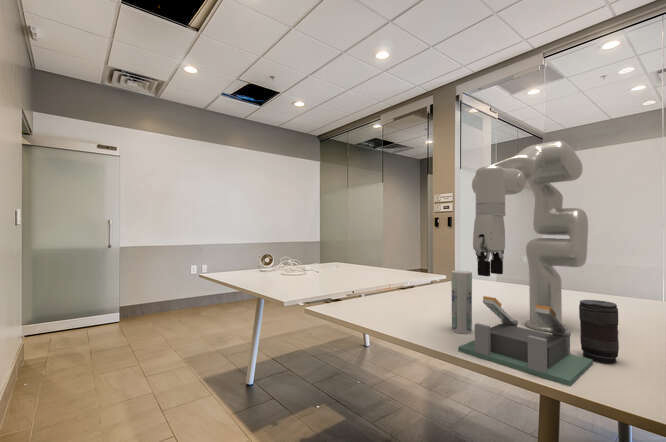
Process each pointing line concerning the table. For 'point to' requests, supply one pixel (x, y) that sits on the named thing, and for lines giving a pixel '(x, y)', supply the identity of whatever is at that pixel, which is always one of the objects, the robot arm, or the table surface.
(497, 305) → the strap
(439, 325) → the table surface
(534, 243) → the robot arm
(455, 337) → the table surface
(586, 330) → the camera lens
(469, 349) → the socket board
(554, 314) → the strap
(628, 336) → the table surface
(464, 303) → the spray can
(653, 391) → the table surface
